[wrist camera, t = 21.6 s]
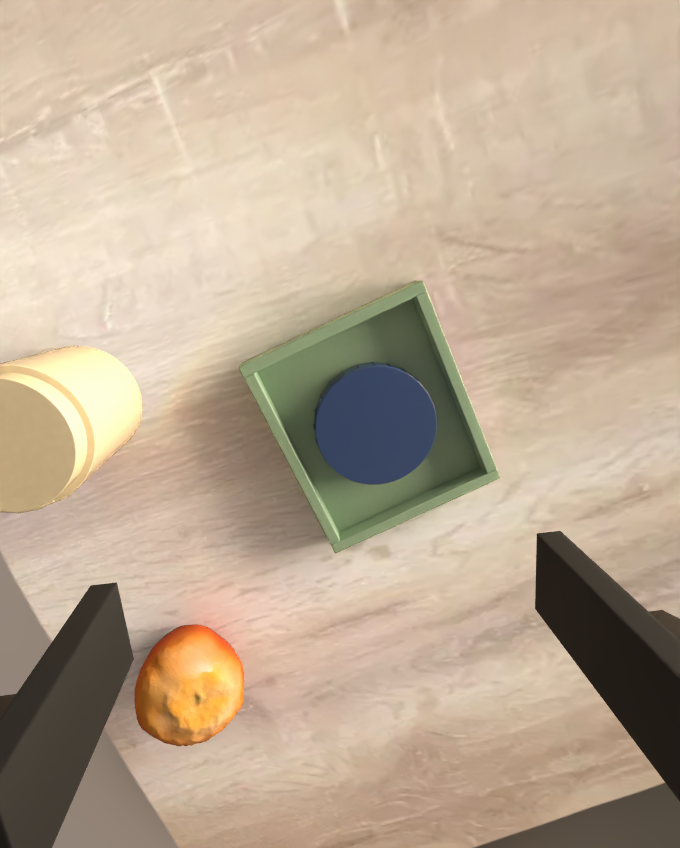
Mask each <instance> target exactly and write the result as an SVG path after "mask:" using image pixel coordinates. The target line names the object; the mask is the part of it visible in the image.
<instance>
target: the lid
mask: <svg viewBox="0 0 680 848" xmlns="http://www.w3.org/2000/svg"><path fill="white" fill-rule="evenodd" d="M418 381H419V380H418V379H416V378H415V377H412V376H411V375H410V374H408V373H407V372H406V371H405V370H404V369H402V368H401V369H400V368H398V367H395V366H392V365H390V364H389V363H387V364H384V363H374V362H371V363H365V364H360V365H357V364H356V366H354V367H351V368H349V369H347V370H345V371H341V373H340V374H339V375H338V376H336V377H335V378H334V379H333V380H332V381H331V382H330V381H329V384H328V385H327V387H326V388H325V389H324V391H323V392H322V394H320V398H319V401H318V403H317V407H316V409H315V418H314V424H313V426H314V429H315V433H316V443H317V444H318V447H319V449H320V452H321V454H322V455H323V458H324V459H325V460H326V462H327V463H328V464H329V465H330V466H331V467H332V468H333V469H334V470H335V471H336V472H337V473H339V474H340V475H341V476H343V477H345V478H347V479H349V480H352V481H354V482H358V483H362V484H369V485H378V484H386V483H390V482H393V481H396V480H398V479H401V478H403V477H405V476H406V475H408V474H409V473H411V472H412V471H414V470H415V469H416V468H417V467H418V466H419V465H420V464H421V463H422V462H423V460H424V459H425V458H426V456H427V455H428V453H429V451H430V449H431V447H432V445H433V442H434V439H435V435H436V427H437V419H436V412H435V407H434V404H433V401H432V399H431V397H430V395H429V394H428V392H427V391H426V389H425V388H424V387H423V386H422V385H421V384H420V382H418Z"/></svg>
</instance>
